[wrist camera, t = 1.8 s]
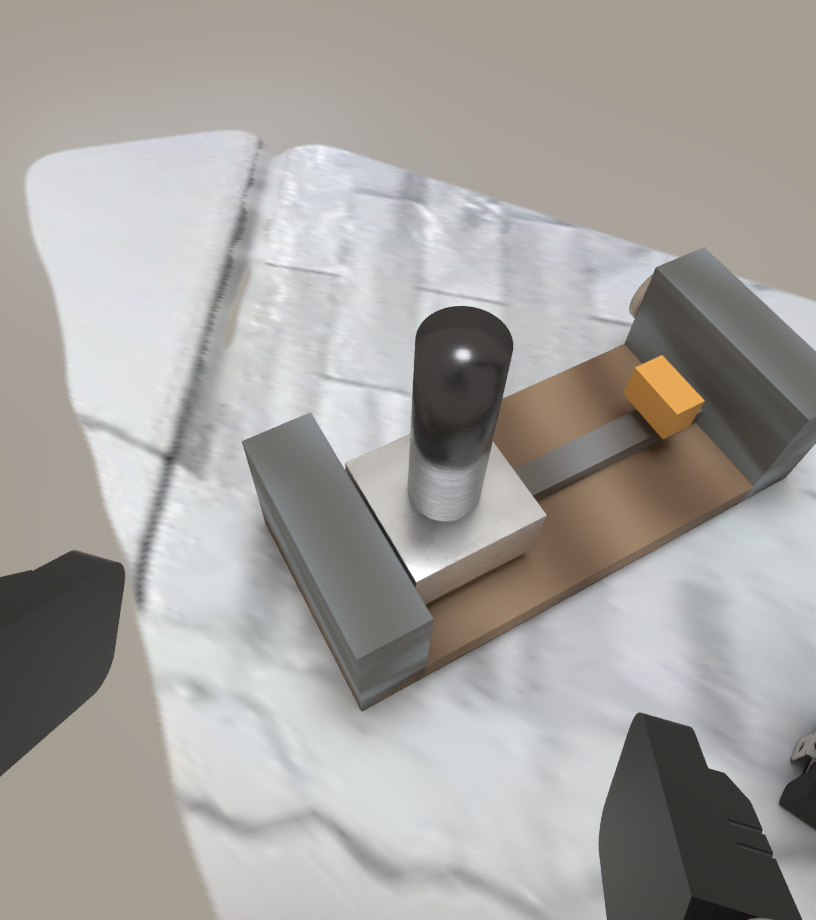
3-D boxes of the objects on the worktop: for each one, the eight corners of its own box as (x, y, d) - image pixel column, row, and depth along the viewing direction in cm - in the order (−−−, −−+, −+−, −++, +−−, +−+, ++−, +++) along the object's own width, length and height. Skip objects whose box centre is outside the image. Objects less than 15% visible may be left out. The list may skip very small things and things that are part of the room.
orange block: (649, 381, 37) (662, 355, 35) (689, 426, 36) (705, 401, 34) (623, 393, 36) (635, 367, 35) (662, 439, 35) (677, 414, 33)
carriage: (462, 445, 35) (494, 249, 25) (534, 547, 33) (601, 374, 23) (348, 498, 34) (332, 311, 24) (413, 610, 31) (428, 454, 21)
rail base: (659, 336, 43) (703, 240, 37) (790, 474, 38) (865, 390, 32) (262, 515, 36) (238, 433, 30) (361, 711, 31) (356, 660, 25)
